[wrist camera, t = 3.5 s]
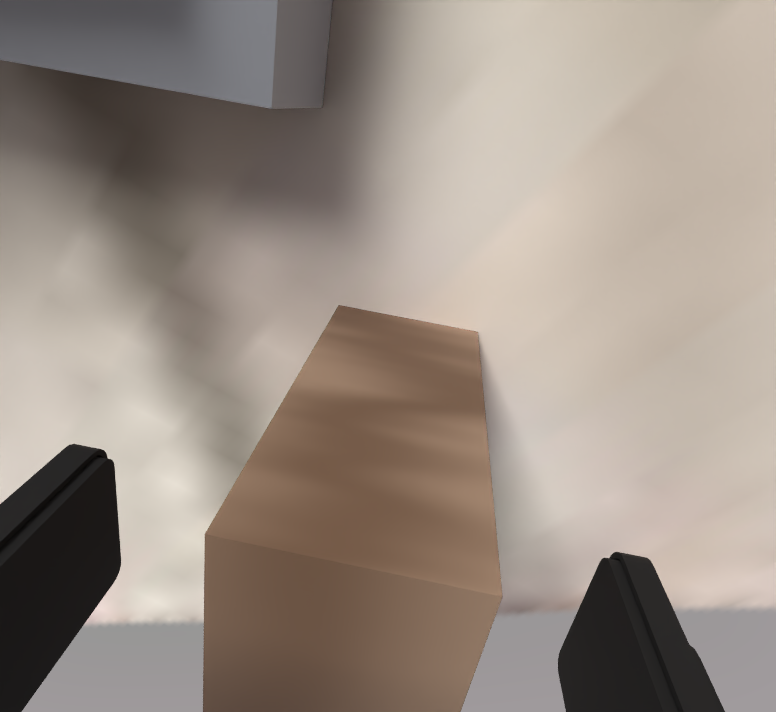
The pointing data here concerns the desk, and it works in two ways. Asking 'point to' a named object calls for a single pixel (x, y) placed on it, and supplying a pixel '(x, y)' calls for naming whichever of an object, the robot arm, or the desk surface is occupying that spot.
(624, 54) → the desk surface
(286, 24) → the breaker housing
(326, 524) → the peg
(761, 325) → the desk surface
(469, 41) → the desk surface
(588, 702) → the robot arm
